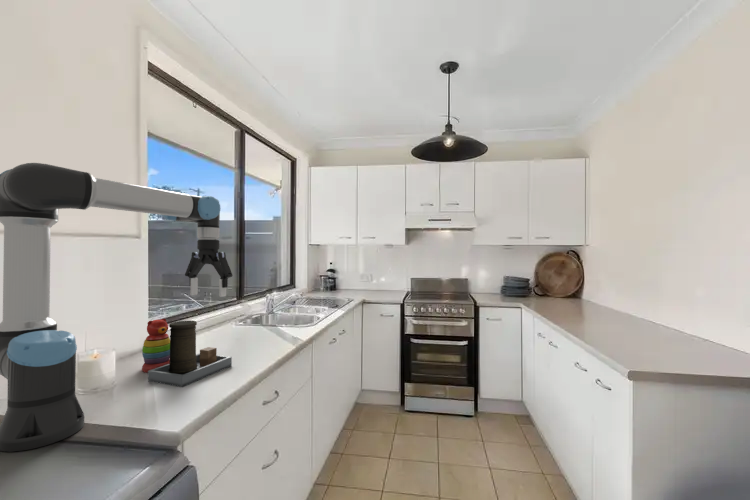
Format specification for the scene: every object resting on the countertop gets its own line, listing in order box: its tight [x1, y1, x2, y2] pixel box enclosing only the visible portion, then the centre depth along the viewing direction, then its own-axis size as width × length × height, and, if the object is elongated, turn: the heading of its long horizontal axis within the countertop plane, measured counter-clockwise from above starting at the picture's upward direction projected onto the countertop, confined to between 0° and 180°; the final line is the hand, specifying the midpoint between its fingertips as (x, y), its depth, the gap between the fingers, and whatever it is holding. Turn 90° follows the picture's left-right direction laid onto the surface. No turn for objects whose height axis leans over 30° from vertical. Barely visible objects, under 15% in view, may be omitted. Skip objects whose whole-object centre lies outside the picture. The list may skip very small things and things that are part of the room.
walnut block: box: [199, 346, 218, 367], centre depth 131 cm, size 4×4×6 cm
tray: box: [147, 353, 233, 388], centre depth 124 cm, size 22×15×4 cm
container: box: [168, 320, 198, 375], centre depth 121 cm, size 9×9×18 cm
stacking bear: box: [141, 318, 170, 374], centre depth 131 cm, size 11×10×18 cm
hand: (208, 295), depth 131 cm, fingers open, 13 cm apart
